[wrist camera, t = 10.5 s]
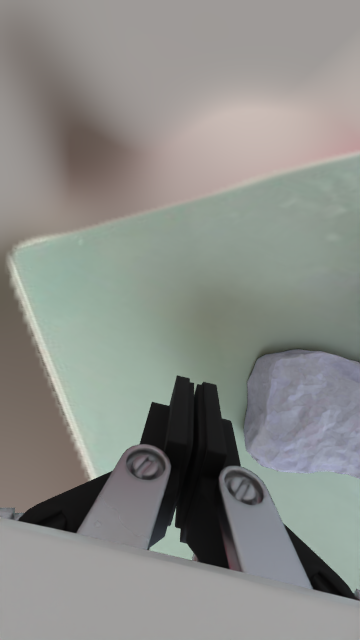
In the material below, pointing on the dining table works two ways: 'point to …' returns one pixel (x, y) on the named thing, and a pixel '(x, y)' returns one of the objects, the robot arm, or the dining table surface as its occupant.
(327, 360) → the stone block
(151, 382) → the dining table surface
